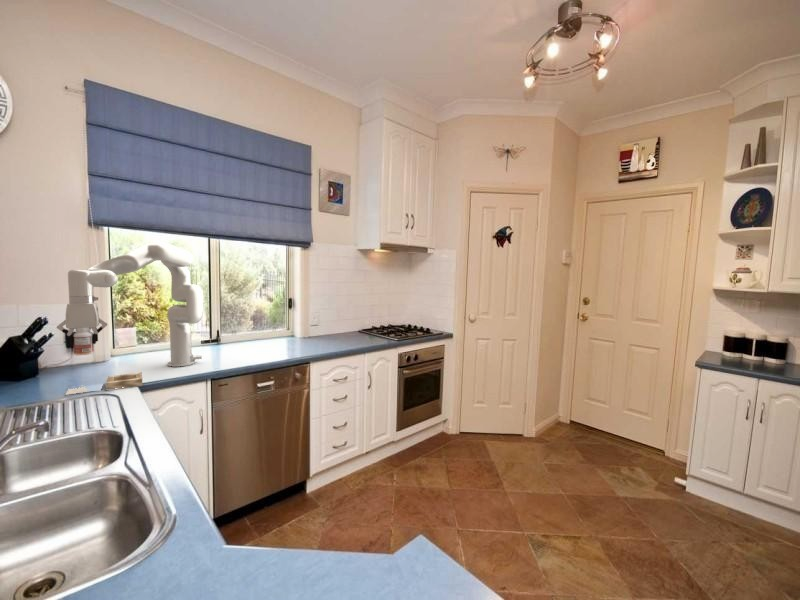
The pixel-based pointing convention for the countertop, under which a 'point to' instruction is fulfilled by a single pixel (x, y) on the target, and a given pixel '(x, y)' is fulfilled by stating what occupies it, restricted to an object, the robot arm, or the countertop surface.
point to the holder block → (124, 380)
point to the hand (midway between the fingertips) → (83, 343)
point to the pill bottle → (83, 341)
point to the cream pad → (76, 390)
